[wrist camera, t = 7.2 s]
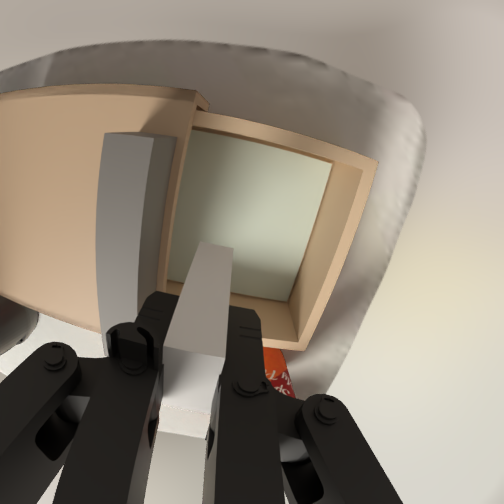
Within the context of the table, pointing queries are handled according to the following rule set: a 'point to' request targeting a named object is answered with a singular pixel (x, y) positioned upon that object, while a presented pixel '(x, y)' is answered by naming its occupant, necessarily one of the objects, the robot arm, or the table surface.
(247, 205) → the box
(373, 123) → the table surface
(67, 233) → the box lid
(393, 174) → the table surface
